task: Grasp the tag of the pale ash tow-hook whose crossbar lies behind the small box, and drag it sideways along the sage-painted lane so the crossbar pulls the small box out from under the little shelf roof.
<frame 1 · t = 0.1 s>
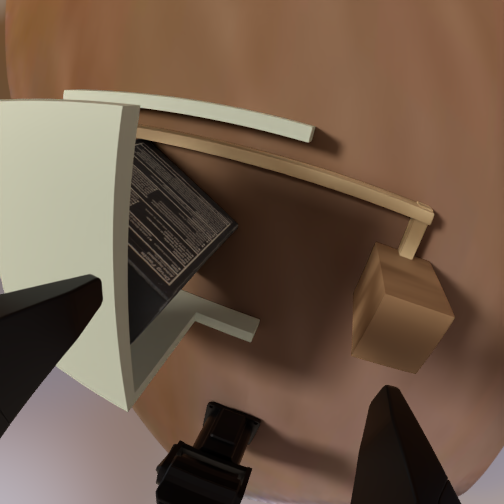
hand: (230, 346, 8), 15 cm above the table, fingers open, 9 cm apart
small box: (170, 205, 24), on the table
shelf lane: (251, 230, 23), on the table
tow hook: (391, 278, 21), on the table
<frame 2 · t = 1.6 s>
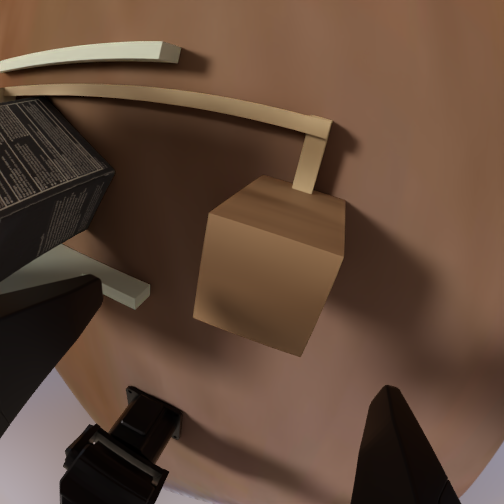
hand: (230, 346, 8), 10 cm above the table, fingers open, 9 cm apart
small box: (63, 160, 20), on the table
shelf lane: (126, 176, 19), on the table
tow hook: (292, 225, 17), on the table
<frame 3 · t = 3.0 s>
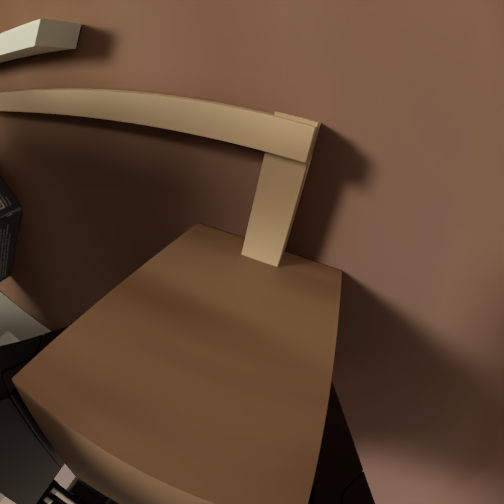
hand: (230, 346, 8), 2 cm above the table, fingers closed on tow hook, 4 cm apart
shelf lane: (32, 216, 12), on the table
tow hook: (251, 306, 10), on the table, touching gripper
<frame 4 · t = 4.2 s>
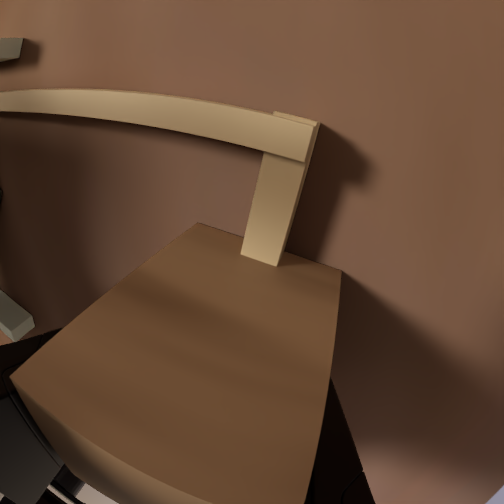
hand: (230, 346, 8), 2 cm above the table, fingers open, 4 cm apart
tow hook: (251, 306, 10), resting on small box, touching gripper
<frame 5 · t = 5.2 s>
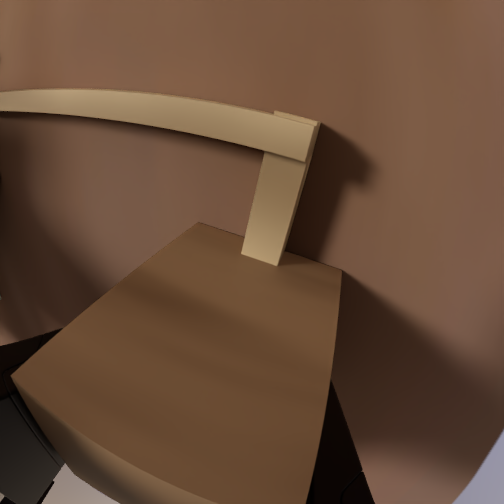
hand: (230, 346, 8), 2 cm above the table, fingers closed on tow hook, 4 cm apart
tow hook: (251, 305, 10), on the table, touching gripper, small box
when the fingers open (2 cm above the table, at t = 6.2 s): tow hook stays where it is, on the table.
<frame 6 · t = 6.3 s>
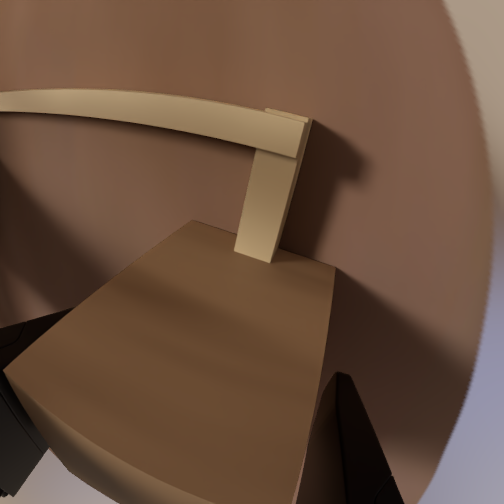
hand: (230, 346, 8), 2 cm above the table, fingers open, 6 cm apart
tow hook: (245, 303, 10), on the table
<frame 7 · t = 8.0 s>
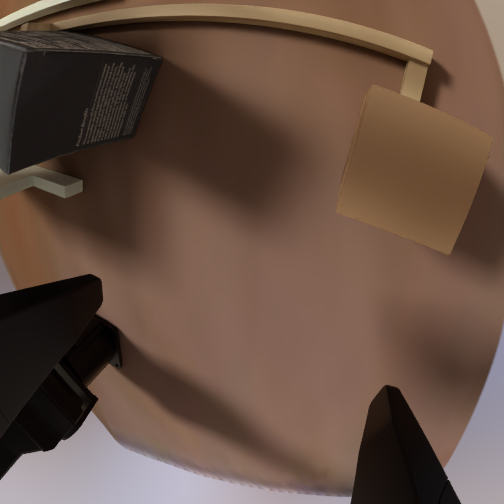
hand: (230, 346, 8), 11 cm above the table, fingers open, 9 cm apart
small box: (100, 79, 18), on the table
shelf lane: (69, 88, 19), on the table
tow hook: (392, 150, 15), on the table
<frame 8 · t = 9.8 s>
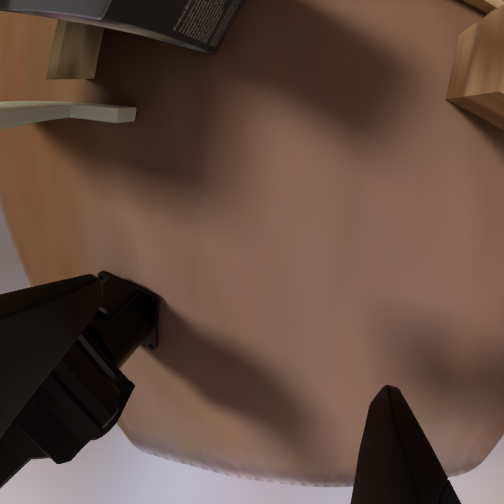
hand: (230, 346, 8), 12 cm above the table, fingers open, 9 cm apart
small box: (172, 0, 15), on the table
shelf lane: (130, 11, 16), on the table
tow hook: (484, 82, 12), on the table
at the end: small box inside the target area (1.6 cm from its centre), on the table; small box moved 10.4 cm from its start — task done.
